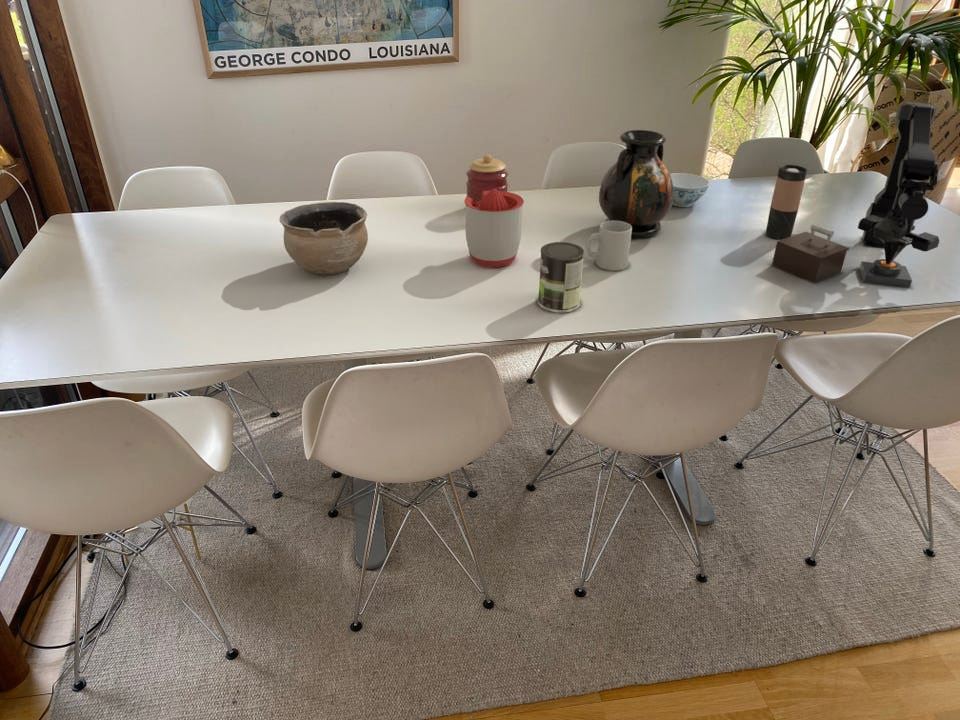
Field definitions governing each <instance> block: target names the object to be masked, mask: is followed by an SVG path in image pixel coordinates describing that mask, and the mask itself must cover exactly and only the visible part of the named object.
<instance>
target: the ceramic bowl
mask: <svg viewBox="0 0 960 720" xmlns="http://www.w3.org/2000/svg"><path fill="white" fill-rule="evenodd" d="M367 216H368V213H367V211H366V210H365V209H364V208H363V206H360V205H359V204H356V203H352V202H345V201H326V202H317V203H316V202H315V203H310V204H301V205H298V206H296V207H295V206H294V207H293V208H291V209H289V210H286V211H285V212H283V213H282V214H280V216H279V219H278V221H279V223H280V225H282V227H283V245H284V249H285V251H286V252H287V254H288V256H289V257H290V258H291V259H292V260H293V261H294V262H295V263H296V264H297V265H298V266H299V267H301V268H303V269H304V270H306V271H308V272H310V273H311V274H312V273H313V274H316V275H336V274H337V275H338V274H340V273H344V272H346V271H348V270H349V269H351V268H352V267H353V266H354V265H355V264H357V262H358V261H359V260H360V259H361V257H362V256H363V254H364V252H365V250H366V247H367V246H368V240H369V234H368V228H367V226H366V225H367V224H366V220H367Z"/></svg>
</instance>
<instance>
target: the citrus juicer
mask: <svg viewBox="0 0 960 720" xmlns="http://www.w3.org/2000/svg"><path fill="white" fill-rule="evenodd" d="M472 200H473V199H471V198H469V197H468V196H467V195H466V197H465V198H464V201H463V202H464V204H465V206H464V211H465V226H464V227H465V239H466V245H467V248H468V254H469V256H470V258H471V260H472V261H473V262H474V263H475V264H476V265H479V266H483V267H489V268H492V269H494V268H499V267H504V266H508V265H510V264H512V263H513V262H514V261H515V259H516V258H517V255H518V251H519V248H520V245H521V239H522V232H523V207H524V203H525V201H524V198H523V197H522V196H520V195H519V194H516V193H514V192H510V191H507V192H506V191H497V190H496V189H492V190H491V191H482V201H479V202H477V203H472Z"/></svg>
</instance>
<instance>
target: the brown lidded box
mask: <svg viewBox="0 0 960 720" xmlns="http://www.w3.org/2000/svg"><path fill="white" fill-rule="evenodd" d="M775 244H776V245H775V249H774V253H773V258H772V263H771V266H772V267H776V268H777V269H780V270H783V271H784V272H786V273H790V274H792V275H794V276H796V277H799V278H801V279H804V280H807V281H809V282H811V283H814V284H815V283H818V282H821V281H823V280H826V279H828V278H831V277H833V276H835V275H838V274H841V273H842V270H843V265H844V262H845V258H846V255H847V252H848V251H845V252H842V253H840V254H837V255H834V256H831V257H829V258H826V259H823V260H821V261H820V260H818V259H815V258H812V257H810V256H807V255H805V254H802V253H800V252H797V251H795V250H792V249H790V248H787V247H785V246H782V245H780V244H777V243H775Z"/></svg>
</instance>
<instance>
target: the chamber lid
mask: <svg viewBox="0 0 960 720" xmlns="http://www.w3.org/2000/svg"><path fill="white" fill-rule="evenodd" d="M815 233H819V234H822V235H825V236H827V237H826V238H824V237H821V236H818V235H816V234H815ZM834 234H835V232H834V230H832V229H829V228H827V227H824V226H821V225H818V224H815V223H812V224H811V225H810V232H808V231H803V232H800V233H797V234H793V235H791V237H788V238H785V239H782V240H779V239H778V240H777V241H776V244H780V245H782V246H785V247H787V248H790V249H792V250H795V251H797V252H800V253H802V254H805V255H807V256H810V257H812V258H815V259H818V260H820V261H821V260H823V259H826V258H829V257H831V256H834V255H837V254H840V253H842V252H845V251H847V252H848V251H849V250H850V247H848V246H845V245H843V244H841V243H838V242H834V241H833V240H831V239H832V237H833V236H834Z"/></svg>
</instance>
